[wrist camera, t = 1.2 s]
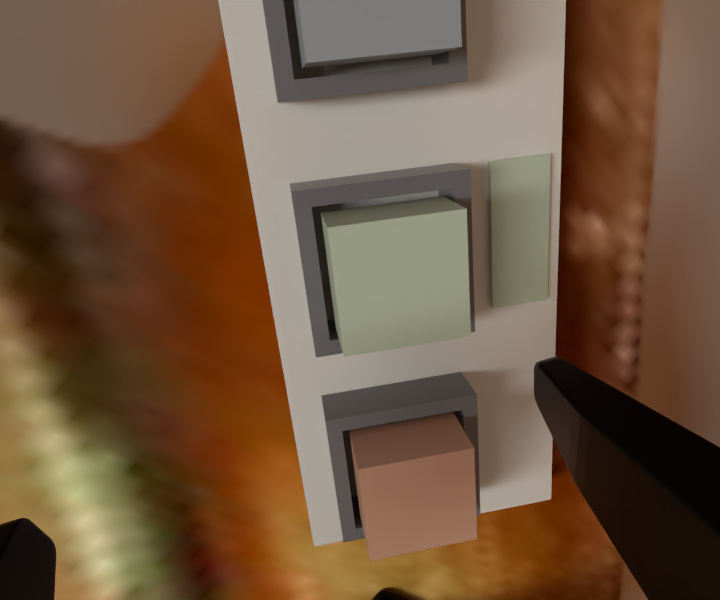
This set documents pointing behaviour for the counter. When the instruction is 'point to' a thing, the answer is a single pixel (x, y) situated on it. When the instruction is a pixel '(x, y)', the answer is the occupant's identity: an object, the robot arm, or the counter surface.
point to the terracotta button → (415, 485)
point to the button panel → (404, 183)
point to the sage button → (398, 274)
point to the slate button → (374, 30)
